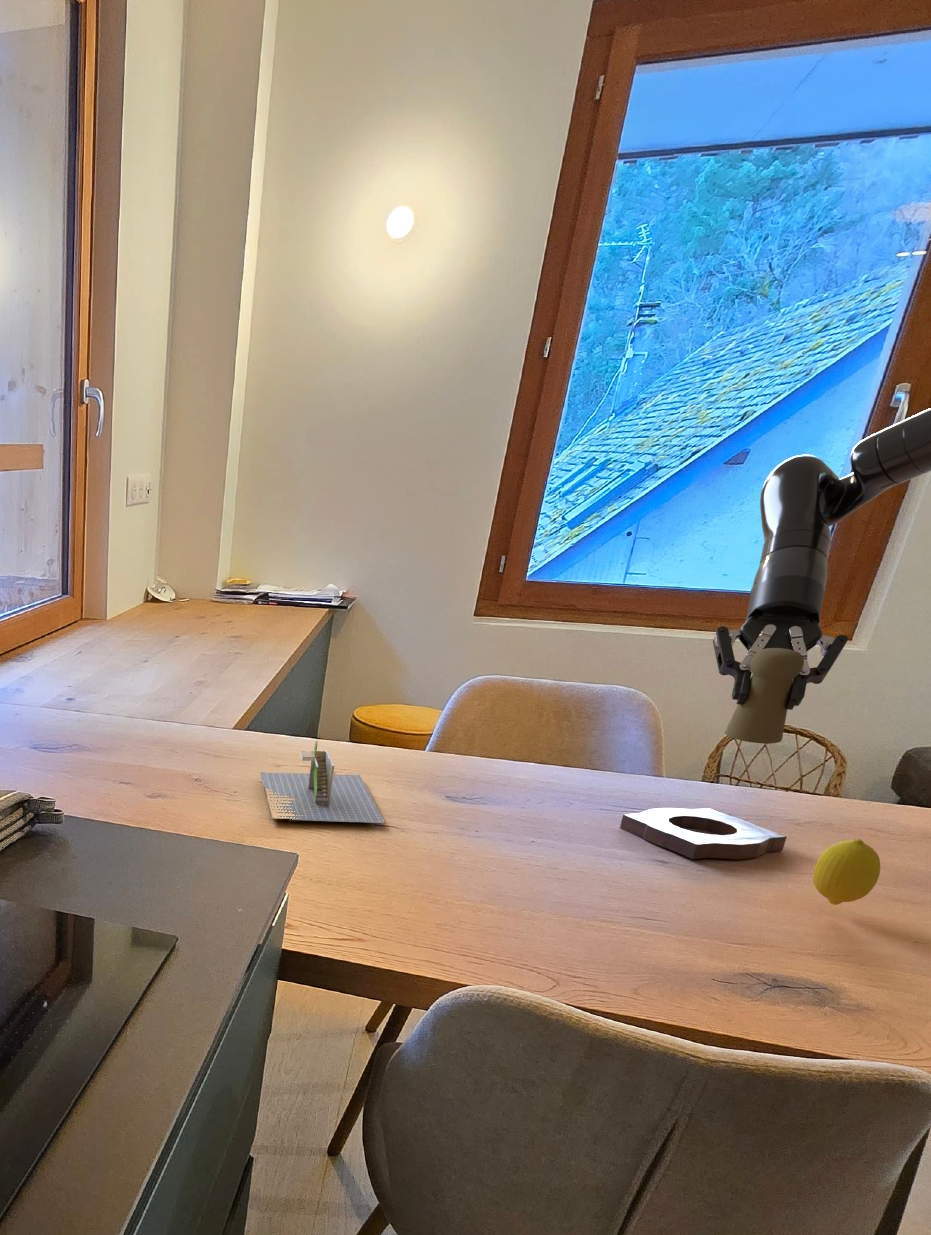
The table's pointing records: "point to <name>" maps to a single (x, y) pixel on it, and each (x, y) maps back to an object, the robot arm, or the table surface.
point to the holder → (728, 843)
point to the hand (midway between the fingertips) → (766, 703)
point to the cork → (766, 697)
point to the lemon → (846, 871)
